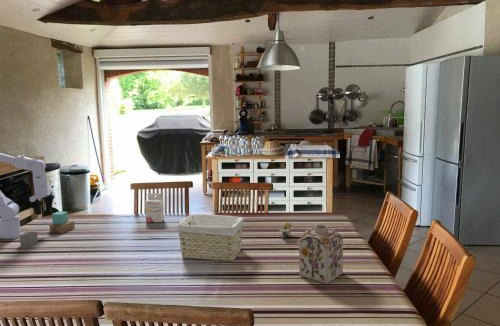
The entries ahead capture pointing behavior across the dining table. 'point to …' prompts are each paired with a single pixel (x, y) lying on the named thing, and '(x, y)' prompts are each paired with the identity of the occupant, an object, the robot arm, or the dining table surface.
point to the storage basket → (210, 237)
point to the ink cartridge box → (154, 208)
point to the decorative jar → (321, 254)
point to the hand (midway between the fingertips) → (43, 212)
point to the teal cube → (60, 217)
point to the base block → (62, 227)
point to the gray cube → (28, 238)
